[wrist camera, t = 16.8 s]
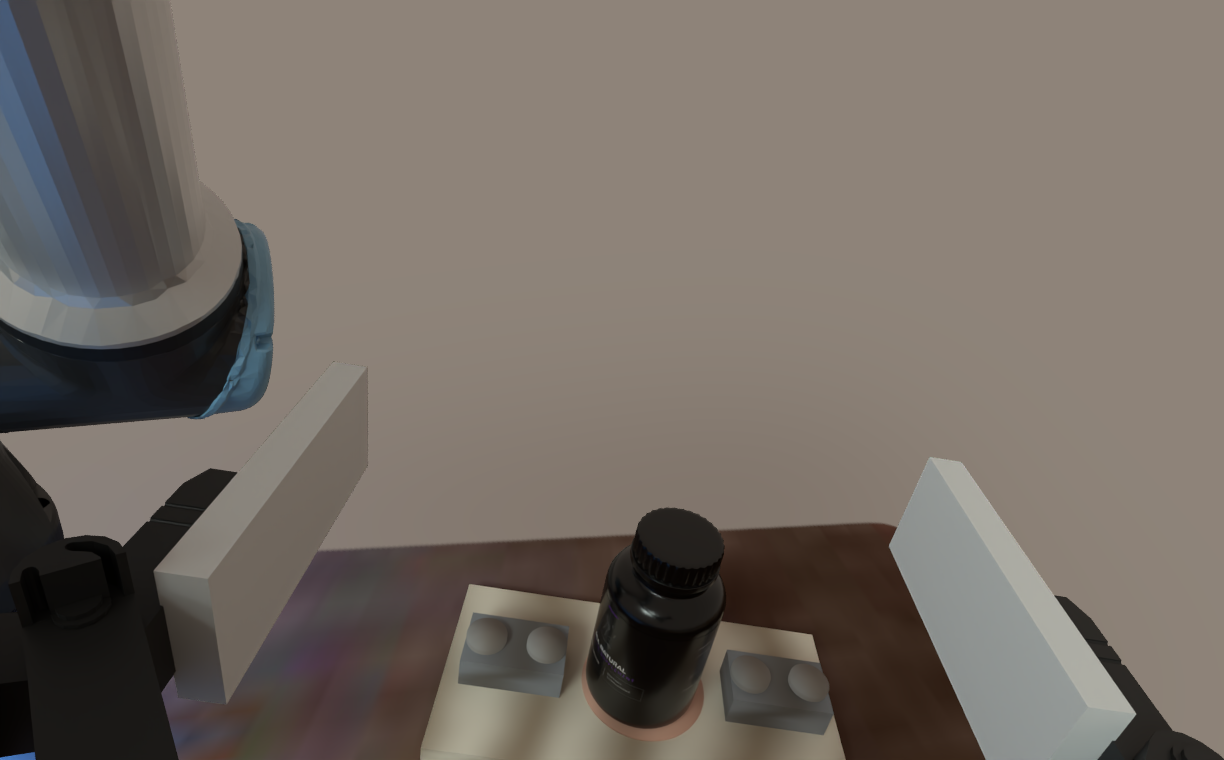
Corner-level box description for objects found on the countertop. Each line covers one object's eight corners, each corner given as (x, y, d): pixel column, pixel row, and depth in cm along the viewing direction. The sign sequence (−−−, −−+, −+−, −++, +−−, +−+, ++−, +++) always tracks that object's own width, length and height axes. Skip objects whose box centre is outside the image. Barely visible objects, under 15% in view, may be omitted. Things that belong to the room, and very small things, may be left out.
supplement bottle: (565, 703, 41) (596, 548, 35) (608, 623, 47) (640, 479, 41) (676, 755, 39) (727, 600, 34) (706, 664, 45) (754, 520, 40)
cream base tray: (420, 759, 38) (422, 719, 36) (468, 594, 49) (471, 557, 47) (852, 818, 39) (873, 781, 37) (807, 644, 50) (822, 610, 48)
